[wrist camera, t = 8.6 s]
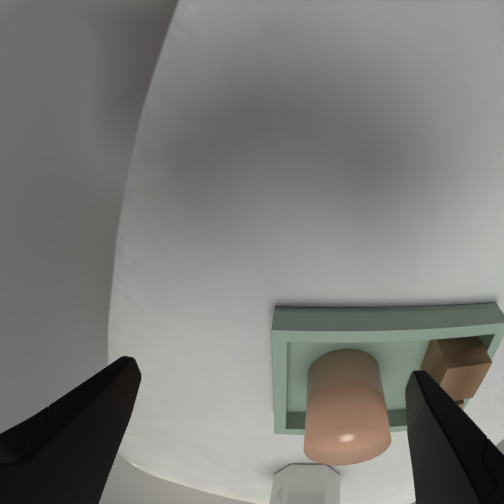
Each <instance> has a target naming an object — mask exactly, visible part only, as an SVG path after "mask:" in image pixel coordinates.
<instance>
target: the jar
mask: <svg viewBox="0 0 504 504" xmlns="http://www.w3.org/2000/svg"><path fill="white" fill-rule="evenodd" d="M270 504H340V475H339V474H338V473H337V472H335V471H334V470H333V469H331V468H330V467H329V466H327V465H326V464H290V465H289V466H287V467H286V468H284V469H283V470H281V471H279V472H278V473H276V474H275V475H274V479H273V486H272V492H271V499H270Z"/></svg>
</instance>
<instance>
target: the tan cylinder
mask: <svg viewBox="0 0 504 504" xmlns="http://www.w3.org/2000/svg"><path fill="white" fill-rule="evenodd" d="M390 444H391V434H390V427H389V421H388V414H387V408H386V402H385V396H384V390H383V384H382V379H381V374H380V369H379V364H378V362H377V360H376V359H375V358H374V357H373V356H371V355H370V354H368V353H366V352H363V351H359V350H339V351H334V352H331V353H328V354H326V355H324V356H322V357H320V358H319V359H317V360H316V361H315V362H314V363H313V364H312V365H311V366H310V368H309V370H308V373H307V395H306V419H305V438H304V453H305V455H306V456H307V457H308V458H309V459H311V460H313V461H315V462H318V463H321V464H326V465H351V464H357V463H361V462H364V461H367V460H370V459H373V458H375V457H377V456H379V455H380V454H382V453H383V452H384V451H386V450H387V448H388V447H389V446H390Z"/></svg>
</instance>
